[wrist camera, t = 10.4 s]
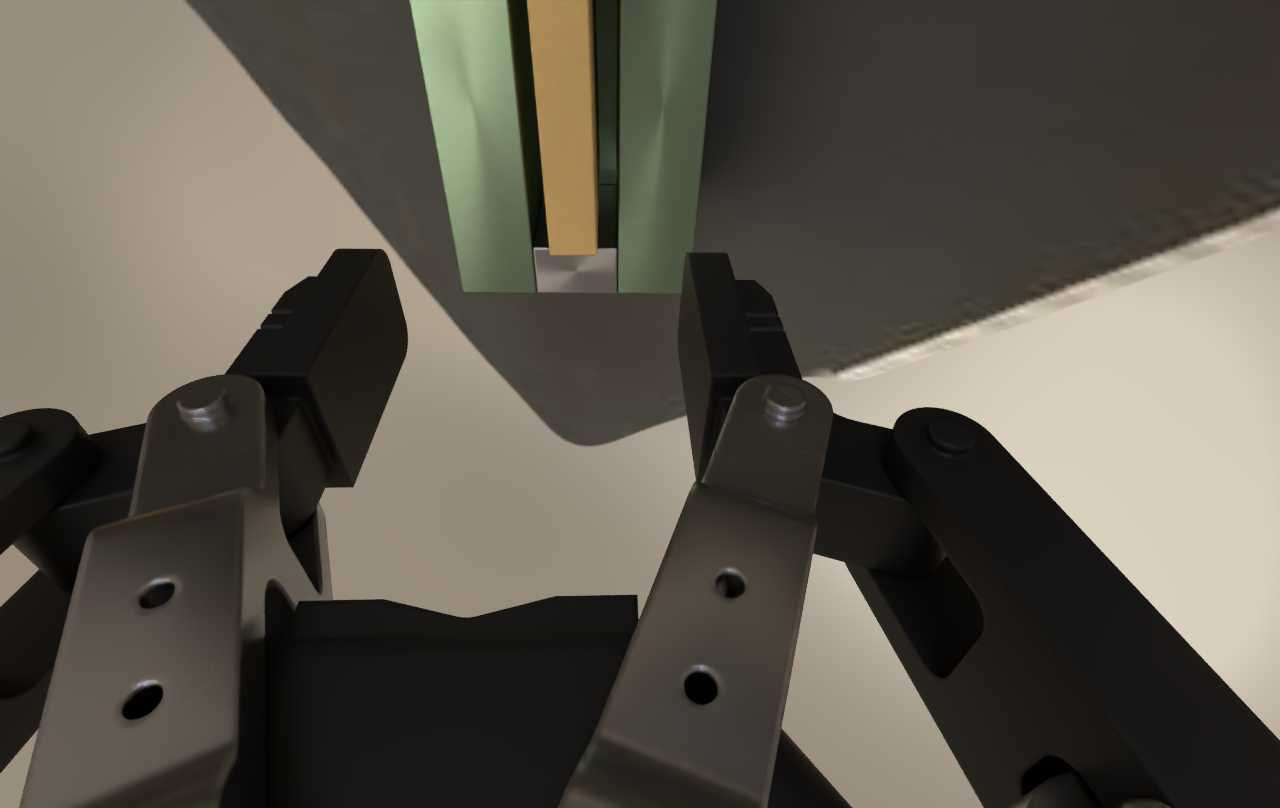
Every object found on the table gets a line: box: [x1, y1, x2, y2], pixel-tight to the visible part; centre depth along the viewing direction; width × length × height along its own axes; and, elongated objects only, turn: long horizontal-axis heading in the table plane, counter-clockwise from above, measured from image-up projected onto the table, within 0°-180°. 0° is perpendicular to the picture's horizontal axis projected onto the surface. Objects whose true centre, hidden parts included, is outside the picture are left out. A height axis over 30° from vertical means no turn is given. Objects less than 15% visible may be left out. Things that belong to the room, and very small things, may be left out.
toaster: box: [409, 0, 718, 294], centre depth 24 cm, size 14×9×10 cm, turn 178°
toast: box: [527, 0, 600, 255], centre depth 21 cm, size 8×2×8 cm, turn 179°
